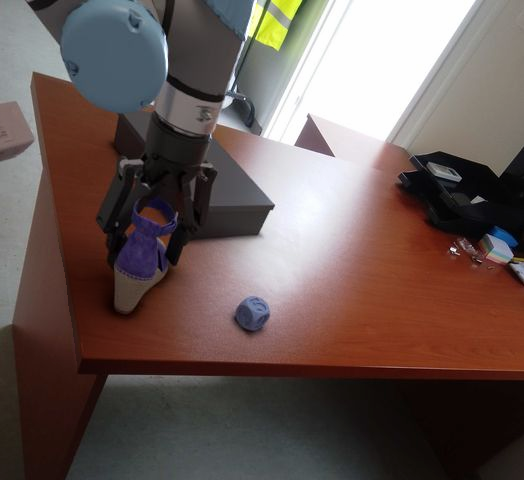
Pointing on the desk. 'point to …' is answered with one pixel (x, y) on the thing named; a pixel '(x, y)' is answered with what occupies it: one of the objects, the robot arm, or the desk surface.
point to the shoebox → (223, 188)
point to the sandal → (142, 257)
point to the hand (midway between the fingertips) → (142, 263)
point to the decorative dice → (252, 313)
